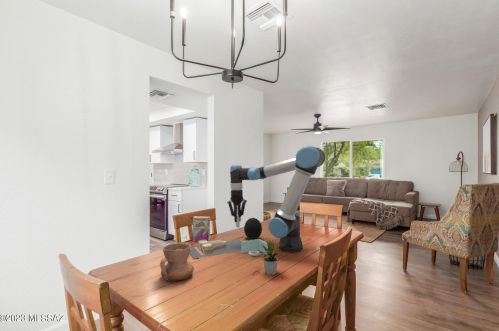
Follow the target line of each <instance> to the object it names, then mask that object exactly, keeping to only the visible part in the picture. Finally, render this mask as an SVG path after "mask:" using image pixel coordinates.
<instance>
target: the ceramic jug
mask: <svg viewBox="0 0 499 331" xmlns="http://www.w3.org/2000/svg"><path fill="white" fill-rule="evenodd" d="M191 246H192V245H191V244H190V243H189V242H188V243H187V242H183V241H182V242H180V241H179V242H175V243H169V244H167V245H165V246H164V247H162V252H163V255H164V257H163V258H161V260H160V263H159V266H160V267H159V268H160V270H161V271H160V276H161V277H162V278H163V279H165V280H167V281H170V282H171V281H172V282H177V281H182V280H185V279H188V278H189V277H191V275H192V274H193V273H194V269H195V268H194V267H195V266H194V265H193V264H192V263H191V261H188V259H189V257H190V251H191V250H192V249H191ZM166 262H167V263H166Z"/></svg>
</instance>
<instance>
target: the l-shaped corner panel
mask: <svg viewBox="0 0 499 331" xmlns="http://www.w3.org/2000/svg"><path fill="white" fill-rule="evenodd" d="M240 241H241V240H240ZM259 241H260V242H259ZM258 242H259V243H258ZM261 243H262V244H263V245H264V246H265V247H266V248H267V249H268V245H267V241H264V240H262V239H261V238H258V239H256V240H251V239H248V240H243V241H241V251H240V253H242V254H244V253H245V254H246V253H248V256H250V257H251V256H252V257H253V258H256V257H260V256H261V253H259V252H266V251H265V249H264V248H263V245H262V244H261ZM258 245H259V246H258ZM261 245H262V246H261ZM257 249H258V250H257ZM259 250H260V251H259ZM258 253H259V254H258ZM266 254H267V253H266ZM264 255H265V253H263V256H264Z"/></svg>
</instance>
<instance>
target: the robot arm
mask: <svg viewBox="0 0 499 331" xmlns="http://www.w3.org/2000/svg"><path fill="white" fill-rule="evenodd" d="M325 160H326V154H325V152H324V150H322V149H321V148H319V147H317V146H316V147H315V146H311V145H305V146H303V147H301V148H299V149H298V150H297V151H296V154H295V157H292V158H288V159H285V160H281V161H278V162H274V163H271V164H268V165H265V166H260V167H245V168H244V167H243V166H242V165H241V164H240V165H239V164H237V165H234V164H233V165H230V168H229V169H230V170H229V173H230V174H229V176H230V199H229V200H227V201H226V203H227V205H228V207H229V211H230V216H232V217H233V220H234V223H235V227H236V228H240V227H241V226H240V224H241V221H242V219H241V217H242V216H244V213H245V208H246V204H247V199H245V198H244V196H243V193H244V192H243V188H244V186H243V181H258V180H265V179H266V178H270V177H273V176H278V175H282V174H285V173H290V172H293V171H295V172H294V174H293V176H292V178H291V181H290V184H289V186H288V189H287V191H286V193H285V196H284V199H283V201H282V203H281V205H280V208H279V209H276V211H275V213H274V216H273V217H272V218H271V219H270V220H269V221H268V224H267V225H268V231H269V233H270V234H271V236H273V237H274V238H277V239H279V240H278V244H277V248H278V247H279V246H280V247H279V248H278V249H279V250H280V251H282V252H286V253H298V251H299V252H301V250H302V251H303V250H304V244H303V242H302V238H301V213H300V212H299V211H297V210H298V208H299V205H300V202H301V200H302V198H303V196H304V192H305V190H306V188H307V185H308V184H309V182H310V179H311V177H312V176H314V175H315V174H316V172H317V170H318V168H320V167H321V166H323V165H324V163H325ZM232 204H233V205H232ZM278 245H279V246H278Z"/></svg>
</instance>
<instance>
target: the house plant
mask: <svg viewBox="0 0 499 331" xmlns="http://www.w3.org/2000/svg"><path fill="white" fill-rule="evenodd" d="M265 240H266V243H267V245H268V249H267V248H266V247H265V246H264V245H263V244H262V243H261V244H262V245H263V248H264V249H265V251H266V252H261V251H260V250H258V249H257V250H258V251H259V253H260V254H261V253H262V254H263V259H262V260H263V266H264V272H266V273H267V274H266V273H265V274H266V275H271V274H272V275H276V274H277V270H278V269H277V268H278V262H279V258H277V257H279V256H281V257H282V256H283V255H282V254H280V253H279V252H278V251H279V250H280V249H279V247H280V246H279V245H278V244H277V247H274V246H275V242H274V239H272V238H269V239H268V238H267V237H265ZM259 242H260V241H259ZM259 242H258V243H259ZM262 245H261V246H262ZM258 246H259V245H258ZM278 246H279V247H278ZM275 248H276V249H275ZM274 249H275V250H274ZM259 253H258V254H259ZM264 253H265V255H264ZM266 253H267V254H266Z"/></svg>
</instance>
